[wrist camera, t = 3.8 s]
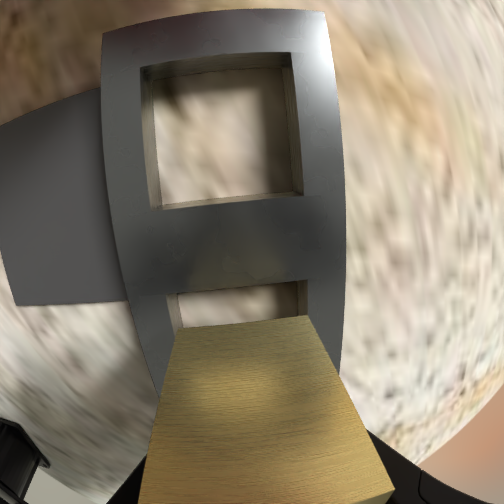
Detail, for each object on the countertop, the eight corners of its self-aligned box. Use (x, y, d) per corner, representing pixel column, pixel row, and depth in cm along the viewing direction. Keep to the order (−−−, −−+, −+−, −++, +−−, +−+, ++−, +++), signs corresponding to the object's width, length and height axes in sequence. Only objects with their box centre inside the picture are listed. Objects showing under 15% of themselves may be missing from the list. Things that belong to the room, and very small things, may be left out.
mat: (173, 293, 14) (171, 297, 13) (19, 302, 13) (16, 305, 13) (148, 78, 11) (146, 75, 10) (-9, 133, 10) (-13, 133, 10)
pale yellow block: (305, 404, 11) (351, 546, 5) (200, 415, 11) (194, 564, 4) (307, 314, 10) (395, 489, 3) (177, 328, 10) (135, 518, 3)
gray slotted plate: (324, 396, 16) (333, 418, 14) (177, 411, 16) (174, 435, 14) (311, 29, 11) (324, 11, 9) (118, 49, 10) (102, 33, 8)
